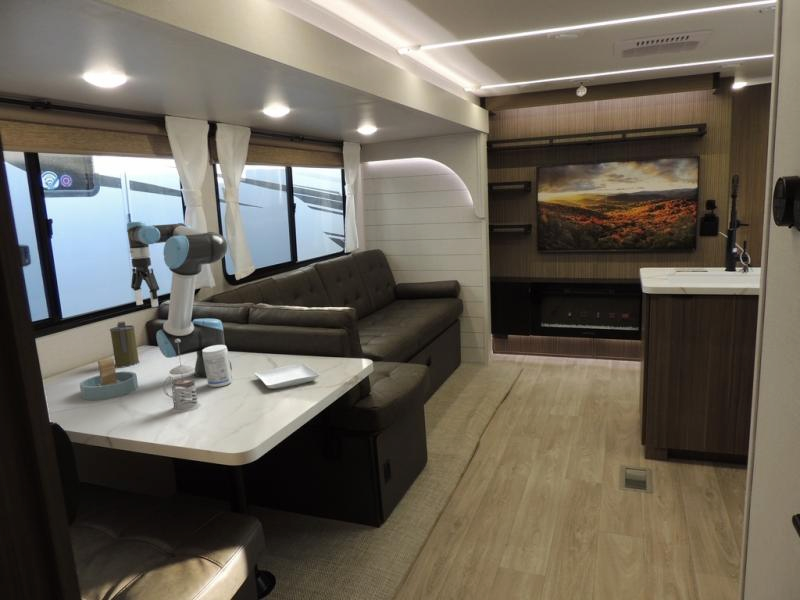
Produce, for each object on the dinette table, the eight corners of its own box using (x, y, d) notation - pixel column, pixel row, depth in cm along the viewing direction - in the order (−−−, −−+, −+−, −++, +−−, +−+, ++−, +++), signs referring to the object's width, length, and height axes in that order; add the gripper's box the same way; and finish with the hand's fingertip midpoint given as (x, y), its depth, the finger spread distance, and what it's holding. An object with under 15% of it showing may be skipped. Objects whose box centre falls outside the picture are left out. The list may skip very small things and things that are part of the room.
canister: (115, 363, 274) (109, 322, 271) (139, 359, 279) (133, 318, 275) (114, 368, 265) (108, 325, 261) (139, 364, 269) (133, 322, 265)
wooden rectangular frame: (117, 387, 232) (113, 358, 230) (105, 391, 228) (100, 361, 226) (115, 386, 233) (110, 357, 231) (102, 390, 229) (97, 360, 227)
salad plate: (254, 380, 235) (253, 371, 234) (304, 370, 244) (303, 362, 244) (267, 393, 216) (266, 385, 216) (321, 382, 226) (320, 374, 225)
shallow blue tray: (147, 388, 232) (145, 376, 231) (95, 403, 217) (93, 390, 216) (123, 380, 245) (122, 369, 244) (73, 394, 229) (71, 382, 229)
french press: (205, 406, 206) (197, 337, 201) (173, 416, 198) (163, 344, 194) (193, 400, 213) (184, 334, 208) (161, 410, 205) (152, 341, 201)
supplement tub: (215, 379, 237) (209, 345, 234) (237, 378, 235) (231, 343, 232) (203, 388, 227) (196, 352, 224) (225, 387, 225) (219, 351, 223)
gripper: (118, 258, 257) (125, 305, 261) (146, 258, 241) (153, 309, 245) (135, 256, 263) (141, 302, 266) (163, 256, 247) (170, 305, 251)
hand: (147, 305), depth 256 cm, fingers open, 13 cm apart
